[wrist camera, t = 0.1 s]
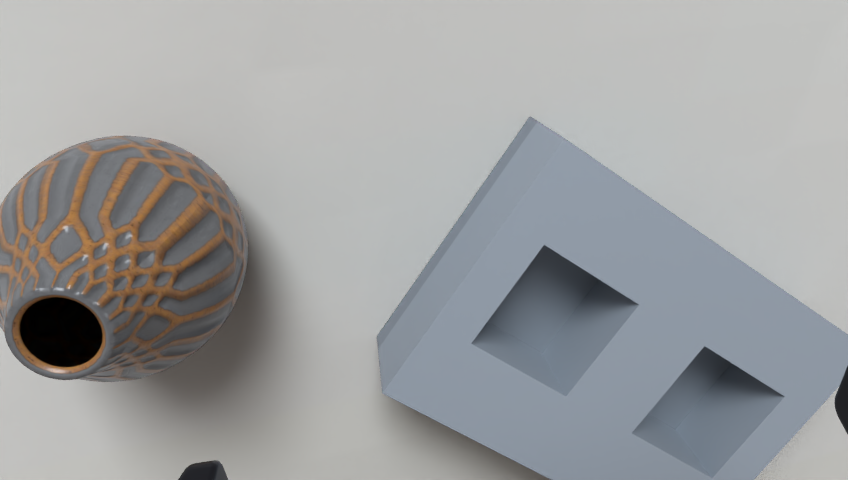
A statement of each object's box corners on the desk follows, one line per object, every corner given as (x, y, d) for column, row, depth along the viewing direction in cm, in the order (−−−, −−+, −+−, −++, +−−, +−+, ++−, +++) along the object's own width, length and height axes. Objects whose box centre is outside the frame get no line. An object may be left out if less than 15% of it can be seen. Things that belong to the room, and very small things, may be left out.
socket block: (646, 481, 30) (689, 550, 26) (376, 336, 26) (382, 393, 22) (799, 302, 28) (870, 350, 24) (530, 116, 24) (564, 138, 20)
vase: (7, 206, 23) (-181, 323, 15) (156, 75, 22) (45, 121, 14) (159, 343, 25) (69, 510, 17) (300, 229, 24) (278, 346, 16)
